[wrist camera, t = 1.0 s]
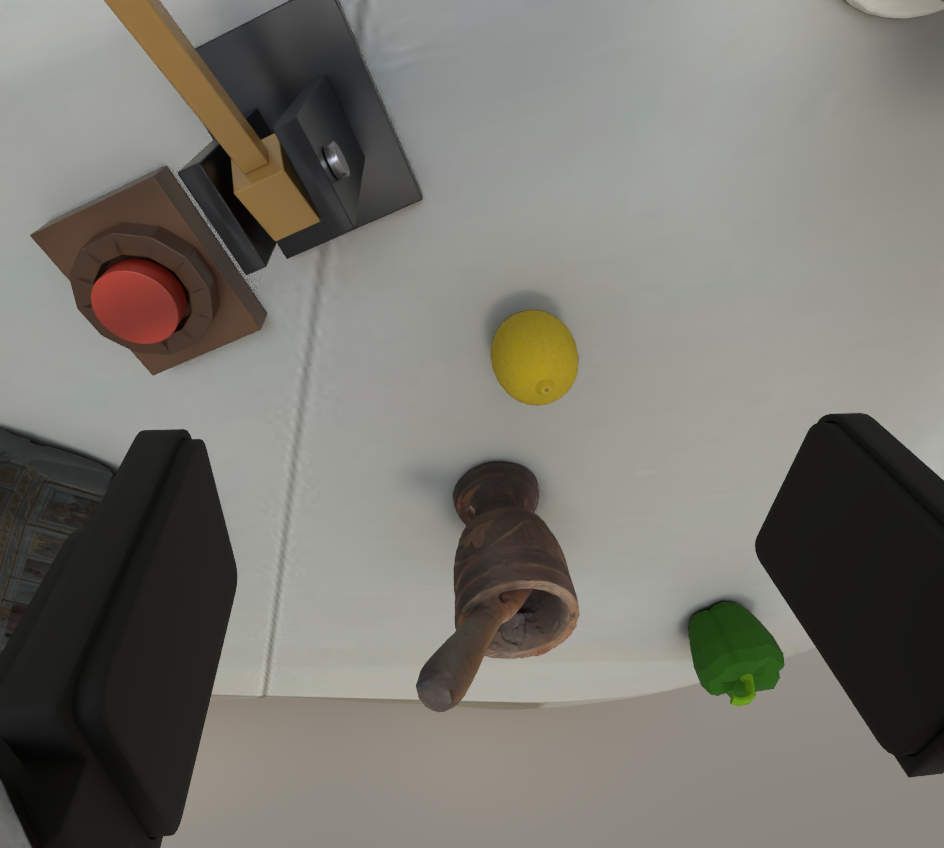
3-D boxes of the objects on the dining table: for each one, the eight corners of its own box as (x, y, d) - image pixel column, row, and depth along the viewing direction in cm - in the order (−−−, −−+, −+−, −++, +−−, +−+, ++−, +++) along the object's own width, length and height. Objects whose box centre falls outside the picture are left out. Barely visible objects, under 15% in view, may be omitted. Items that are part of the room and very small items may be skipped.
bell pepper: (768, 600, 65) (820, 687, 57) (720, 642, 69) (762, 729, 61) (709, 584, 62) (755, 673, 54) (663, 629, 67) (699, 718, 59)
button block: (48, 221, 35) (13, 246, 31) (166, 164, 34) (142, 185, 30) (163, 357, 41) (144, 390, 37) (267, 313, 39) (256, 343, 36)
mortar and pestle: (404, 525, 53) (408, 764, 37) (411, 448, 47) (419, 687, 32) (532, 527, 54) (589, 756, 38) (552, 454, 49) (627, 682, 33)
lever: (-74, -143, 15) (-93, -103, 14) (89, -242, 15) (83, -208, 13) (242, 216, 27) (246, 255, 26) (342, 170, 26) (351, 208, 25)
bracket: (173, 60, 31) (63, 103, 20) (329, -19, 29) (295, -17, 19) (289, 252, 37) (249, 356, 27) (422, 193, 36) (433, 280, 26)
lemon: (561, 356, 44) (590, 421, 37) (486, 365, 44) (502, 432, 37) (562, 286, 40) (594, 344, 34) (481, 295, 40) (497, 356, 34)
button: (84, 276, 33) (71, 290, 32) (152, 245, 33) (141, 257, 31) (139, 340, 36) (129, 355, 34) (203, 313, 35) (195, 326, 34)
